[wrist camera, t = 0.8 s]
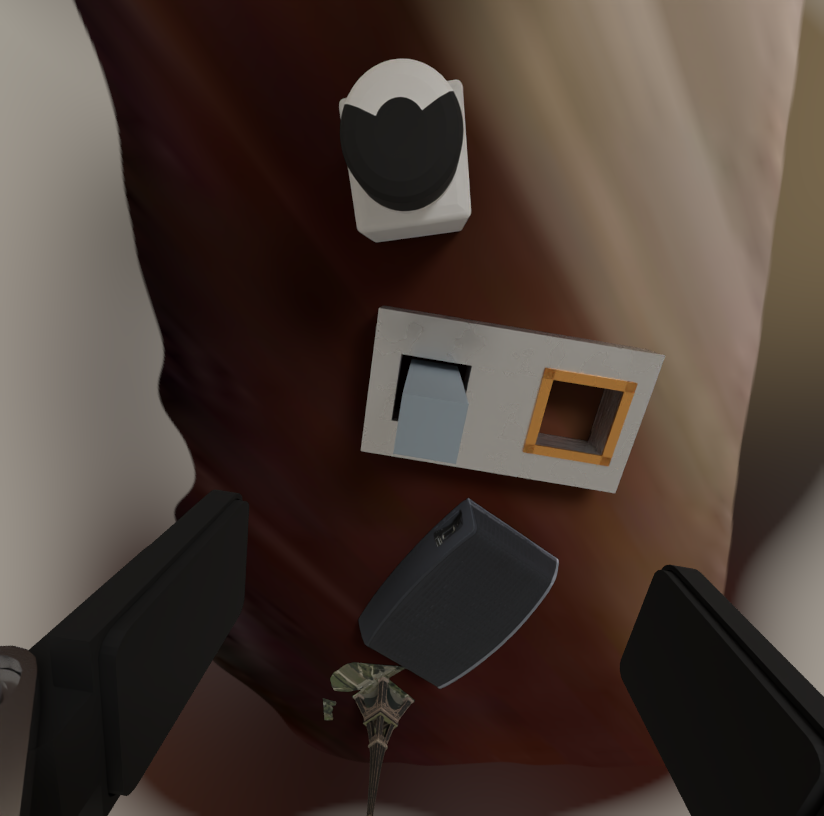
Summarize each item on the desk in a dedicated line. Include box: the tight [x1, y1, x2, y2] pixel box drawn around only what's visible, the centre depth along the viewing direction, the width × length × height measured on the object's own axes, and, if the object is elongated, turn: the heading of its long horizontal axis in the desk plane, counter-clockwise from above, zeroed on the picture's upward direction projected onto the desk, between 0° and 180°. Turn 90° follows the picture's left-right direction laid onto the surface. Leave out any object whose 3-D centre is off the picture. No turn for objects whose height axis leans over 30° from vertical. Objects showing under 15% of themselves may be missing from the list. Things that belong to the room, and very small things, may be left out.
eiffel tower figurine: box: [323, 662, 415, 816], centre depth 41 cm, size 15×10×13 cm
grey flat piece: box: [361, 306, 665, 493], centre depth 33 cm, size 12×22×3 cm, turn 81°
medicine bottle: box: [339, 59, 471, 242], centre depth 24 cm, size 7×7×12 cm
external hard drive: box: [359, 498, 559, 689], centre depth 40 cm, size 13×19×4 cm
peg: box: [393, 359, 469, 464], centre depth 29 cm, size 4×4×11 cm
